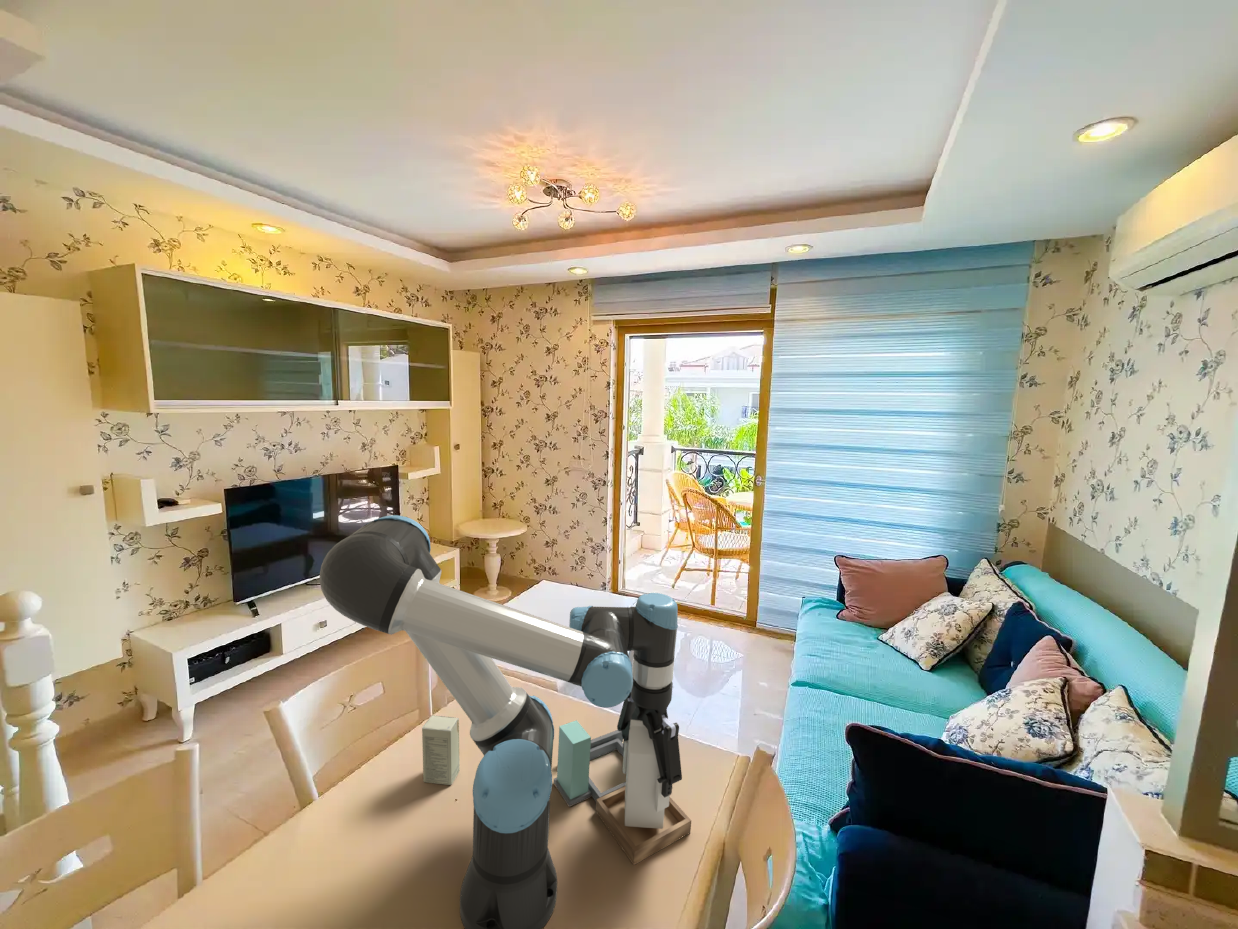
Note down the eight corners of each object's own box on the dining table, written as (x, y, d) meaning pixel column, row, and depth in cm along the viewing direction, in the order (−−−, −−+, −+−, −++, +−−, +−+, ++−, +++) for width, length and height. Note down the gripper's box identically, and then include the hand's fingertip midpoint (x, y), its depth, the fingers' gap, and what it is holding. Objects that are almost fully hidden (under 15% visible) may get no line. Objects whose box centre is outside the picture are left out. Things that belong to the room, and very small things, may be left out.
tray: (633, 865, 87) (634, 852, 86) (595, 811, 97) (596, 799, 97) (690, 833, 94) (691, 820, 93) (649, 786, 105) (649, 774, 104)
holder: (575, 817, 96) (579, 755, 94) (544, 770, 107) (547, 714, 106) (669, 773, 108) (673, 718, 107) (632, 735, 120) (636, 685, 118)
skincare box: (460, 770, 106) (461, 717, 104) (451, 786, 101) (452, 731, 100) (431, 767, 106) (431, 714, 105) (421, 782, 102) (421, 727, 100)
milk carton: (663, 829, 92) (670, 735, 89) (624, 827, 92) (630, 732, 89) (660, 799, 99) (667, 710, 96) (624, 796, 99) (630, 708, 96)
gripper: (709, 705, 84) (699, 823, 87) (634, 646, 103) (627, 745, 106) (675, 719, 80) (666, 842, 83) (603, 655, 99) (597, 758, 102)
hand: (644, 788), depth 95 cm, fingers closed on milk carton, 10 cm apart
